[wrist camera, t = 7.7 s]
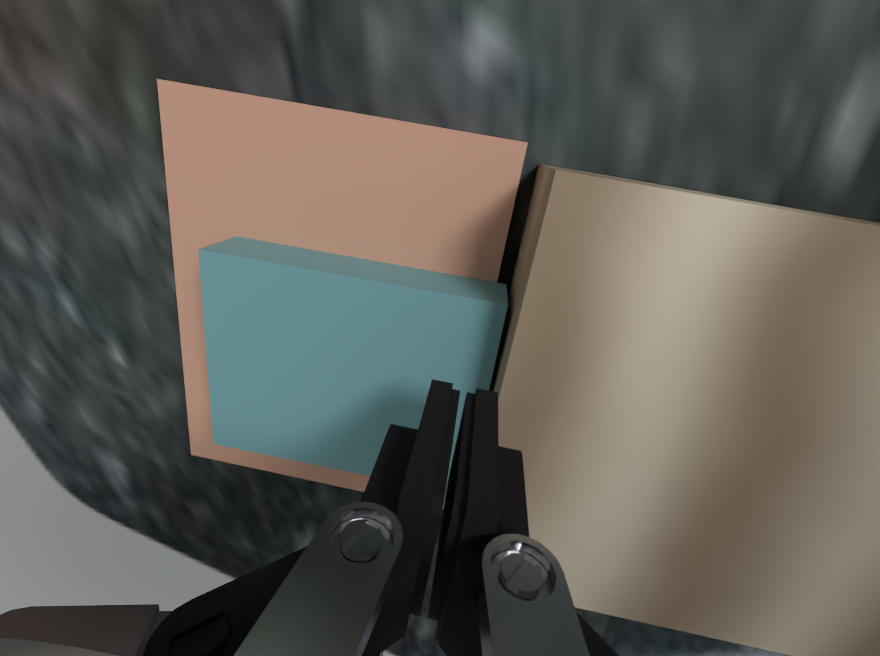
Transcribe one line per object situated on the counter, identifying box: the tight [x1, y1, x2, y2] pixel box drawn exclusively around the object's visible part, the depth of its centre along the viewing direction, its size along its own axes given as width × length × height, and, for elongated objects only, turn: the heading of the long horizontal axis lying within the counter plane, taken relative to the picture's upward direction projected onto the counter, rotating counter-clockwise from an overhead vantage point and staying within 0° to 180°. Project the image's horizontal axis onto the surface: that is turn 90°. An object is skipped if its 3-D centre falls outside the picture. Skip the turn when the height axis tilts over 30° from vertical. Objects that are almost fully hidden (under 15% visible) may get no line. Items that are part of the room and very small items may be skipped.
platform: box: [489, 164, 880, 656], centre depth 13 cm, size 14×13×4 cm
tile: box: [198, 236, 508, 492], centre depth 15 cm, size 9×7×2 cm
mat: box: [157, 79, 528, 509], centre depth 15 cm, size 11×14×1 cm
